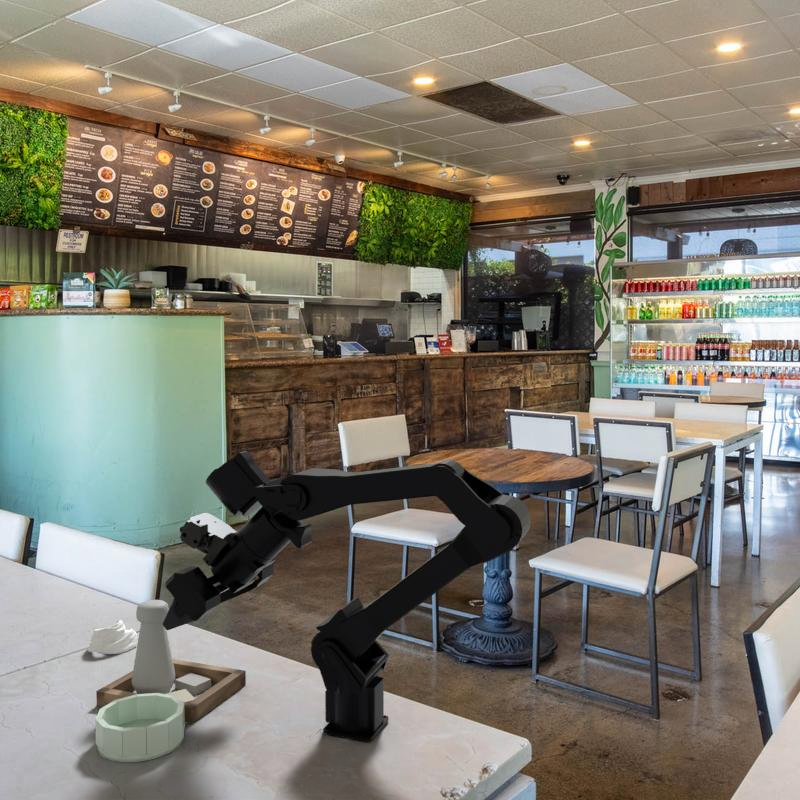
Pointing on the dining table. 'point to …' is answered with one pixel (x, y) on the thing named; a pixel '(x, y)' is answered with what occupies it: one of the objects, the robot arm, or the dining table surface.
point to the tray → (221, 676)
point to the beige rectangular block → (182, 695)
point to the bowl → (140, 727)
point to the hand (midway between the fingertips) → (185, 616)
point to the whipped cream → (113, 639)
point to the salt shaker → (153, 650)
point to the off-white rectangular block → (193, 683)
